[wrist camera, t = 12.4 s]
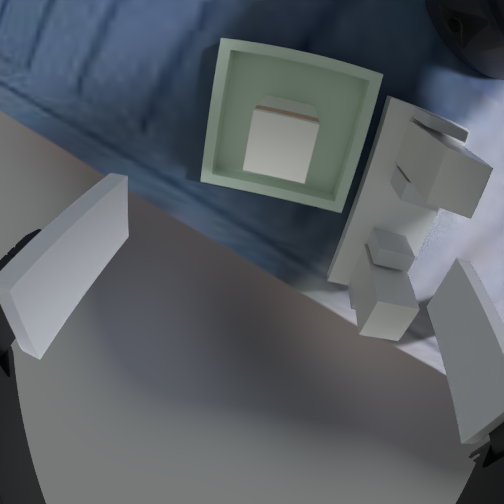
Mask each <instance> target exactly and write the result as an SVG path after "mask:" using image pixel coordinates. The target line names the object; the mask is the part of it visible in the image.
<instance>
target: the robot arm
mask: <svg viewBox="0 0 504 504" xmlns="http://www.w3.org/2000/svg"><path fill="white" fill-rule="evenodd" d="M426 4H427V8H428V11H429V14H430V17H431V19H432V21H433V23H434V25H435V27H436V29H437V31H438V33H439V34H440V36H441V37H442V39H443V40H444V42H445V43H446V44H447V46H448V47H449V48H450V49H451V50H452V52H453V53H454V54H455V55H456V56H457V57H458V58H459V59H460V60H462V61H463V62H464V63H465V64H466V65H468V66H469V67H471V68H472V69H474V70H475V71H477V72H479V73H481V74H483V75H486V76H489V77H492V78H496V79H500V80H504V0H426ZM128 234H129V233H128V176H125V175H120V174H114V173H110V174H108V175H107V176H106V177H105V178H103V179H102V180H101V181H99V182H98V183H97V184H96V185H94V186H93V187H92V188H91V189H89V190H88V191H87V192H86V193H85V194H83V195H82V196H81V197H80V198H78V199H77V200H76V201H75V202H74V203H72V204H71V205H70V206H69V207H68V208H67V209H66V210H64V211H63V212H62V213H61V214H59V215H58V216H57V217H56V218H55V219H54V220H53V221H52V222H50V224H48V225H47V226H46V227H45V228H44V229H43V230H41V229H38V230H36V231H34V232H32V233H30V234H28V235H26V236H25V237H24V238H23V239H22V240H21V241H20V242H18V243H17V244H16V246H15V247H13V248H12V249H11V250H10V251H9V252H8V255H5V256H4V257H3V258H2V259H1V260H0V504H46V503H45V500H44V497H43V494H42V491H41V488H40V485H39V482H38V479H37V475H36V472H35V469H34V465H33V462H32V458H31V454H30V451H29V446H28V442H27V438H26V433H25V429H24V424H23V420H22V414H21V409H20V403H19V396H18V390H17V383H16V375H15V367H14V356H13V350H12V347H11V344H12V342H13V341H14V339H15V338H16V340H17V341H18V344H19V346H20V348H21V350H22V351H24V352H26V353H28V354H30V355H32V356H34V357H36V358H38V359H41V357H42V356H43V355H44V353H45V351H46V350H47V348H48V347H49V345H50V344H51V342H52V341H53V339H54V338H55V336H56V335H57V333H58V332H59V330H60V328H61V327H62V326H63V324H64V323H65V321H66V320H67V318H68V317H69V315H70V314H71V313H72V311H73V310H74V308H75V307H76V305H77V304H78V303H79V301H80V300H81V298H82V297H83V296H84V294H85V293H86V291H87V290H88V289H89V287H90V286H91V285H92V283H93V282H94V281H95V279H96V278H97V277H98V275H99V274H100V273H101V271H102V270H103V269H104V267H105V266H106V265H107V263H108V262H109V261H110V260H111V258H112V257H113V256H114V254H115V253H116V252H117V251H118V249H119V248H120V247H121V246H122V244H123V243H124V242H125V241H126V239H127V238H128V237H129V235H128ZM426 308H427V310H428V313H429V316H430V320H431V323H432V326H433V329H434V332H435V335H436V339H437V342H438V345H439V349H440V352H441V356H442V359H443V363H444V367H445V370H446V374H447V378H448V382H449V386H450V390H451V394H452V399H453V403H454V408H455V412H456V417H457V422H458V427H459V433H460V438H461V443H462V444H466V443H476V442H478V441H480V440H481V439H482V438H484V437H485V436H487V435H488V434H489V436H490V441H489V442H487V443H486V444H484V445H483V446H481V447H480V448H478V449H477V450H475V451H474V452H472V453H471V454H470V456H469V457H470V458H472V457H474V456H475V455H477V454H478V453H479V454H480V456H479V457H477V458H476V459H474V460H473V461H474V462H476V464H475V467H474V469H473V471H472V473H471V475H470V477H469V479H468V481H467V483H466V485H465V487H464V489H463V491H462V493H461V495H460V497H459V499H458V501H457V502H456V504H504V325H503V323H502V321H501V319H500V317H499V314H498V312H497V310H496V308H495V306H494V305H493V303H492V301H491V299H490V297H489V295H488V293H487V291H486V289H485V287H484V286H483V284H482V282H481V280H480V278H479V277H478V275H477V273H476V271H475V270H474V268H473V266H472V264H471V263H470V262H469V261H466V260H463V259H460V258H456V259H455V261H454V263H453V265H452V266H451V268H450V270H449V271H448V273H447V275H446V276H445V278H444V280H443V281H442V283H441V285H440V286H439V288H438V289H437V291H436V293H435V294H434V296H433V297H432V299H431V300H430V302H429V303H428V305H427V307H426Z"/></svg>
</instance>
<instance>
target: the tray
mask: <svg viewBox="0 0 504 504" xmlns="http://www.w3.org/2000/svg"><path fill="white" fill-rule="evenodd" d="M382 78H383V74H381V73H378V72H375V71H372V70H369V69H366V68H362V67H359V66H356V65H353V64H349V63H346V62H342V61H339V60H335V59H331V58H328V57H324V56H320V55H316V54H311V53H307V52H303V51H298V50H294V49H289V48H284V47H279V46H273V45H268V44H262V43H256V42H249V41H242V40H235V39H226V38H221V41H220V47H219V52H218V58H217V64H216V71H215V77H214V83H213V90H212V96H211V103H210V110H209V117H208V124H207V132H206V140H205V147H204V155H203V164H202V172H201V181H200V182H205V183H210V184H215V185H220V186H225V187H230V188H235V189H239V190H244V191H249V192H254V193H258V194H263V195H267V196H272V197H276V198H281V199H285V200H289V201H294V202H298V203H302V204H306V205H310V206H315V207H319V208H323V209H327V210H331V211H335V212H339V213H342V210H343V207H344V204H345V201H346V198H347V195H348V192H349V189H350V186H351V183H352V180H353V177H354V174H355V171H356V167H357V164H358V161H359V158H360V155H361V152H362V148H363V145H364V142H365V138H366V135H367V132H368V128H369V125H370V121H371V118H372V114H373V111H374V107H375V104H376V100H377V96H378V93H379V89H380V85H381V82H382ZM266 95H271V96H276V97H280V98H285V99H290V100H294V101H299V102H303V103H307V104H311V105H314V107H315V110H316V113H317V117H318V120H319V124H320V126H319V130H318V134H317V137H316V141H315V145H314V149H313V153H312V157H311V161H310V164H309V168H308V172H307V176H306V179H305V183H304V184H303V183H299V182H295V181H290V180H286V179H282V178H277V177H273V176H268V175H264V174H259V173H254V172H250V171H245V170H243V165H244V160H245V154H246V149H247V143H248V137H249V132H250V127H251V121H252V116H253V110H254V109H255V107H256V106H257V105H258V104H259V103H260V102H261V101H262V99H263V98H264V97H265V96H266Z"/></svg>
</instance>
